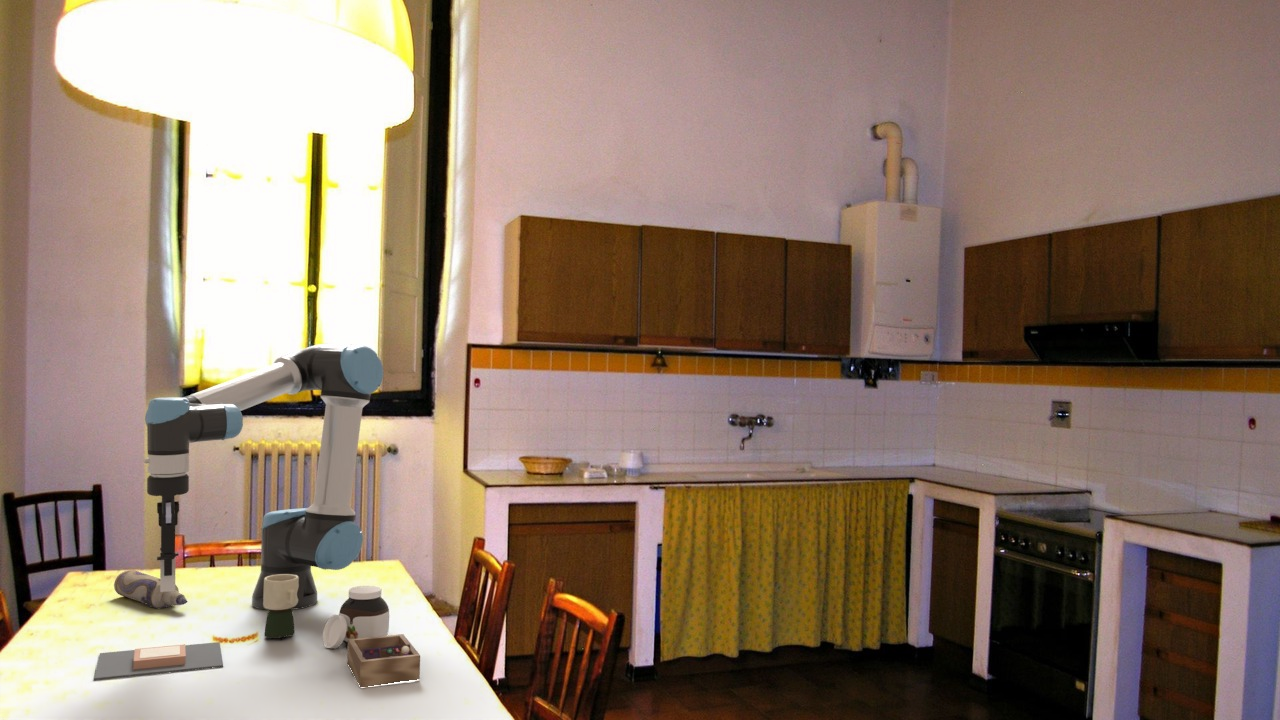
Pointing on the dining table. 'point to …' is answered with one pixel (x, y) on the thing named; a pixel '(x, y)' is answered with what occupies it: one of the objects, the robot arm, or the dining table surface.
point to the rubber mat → (123, 662)
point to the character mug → (280, 604)
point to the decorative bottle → (146, 590)
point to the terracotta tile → (159, 656)
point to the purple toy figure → (375, 652)
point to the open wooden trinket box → (382, 661)
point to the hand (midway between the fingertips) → (167, 590)
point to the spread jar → (358, 617)
